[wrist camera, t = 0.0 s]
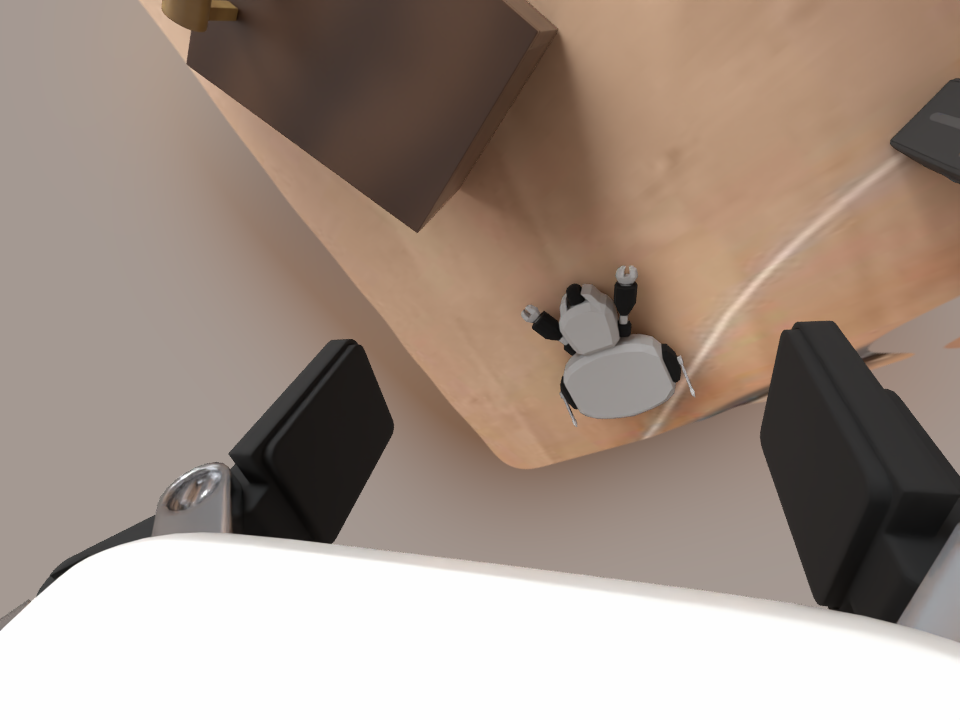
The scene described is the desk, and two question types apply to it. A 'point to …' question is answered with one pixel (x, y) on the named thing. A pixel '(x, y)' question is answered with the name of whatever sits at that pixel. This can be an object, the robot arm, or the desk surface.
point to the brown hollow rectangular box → (503, 97)
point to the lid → (365, 81)
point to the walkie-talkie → (935, 133)
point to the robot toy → (608, 352)
